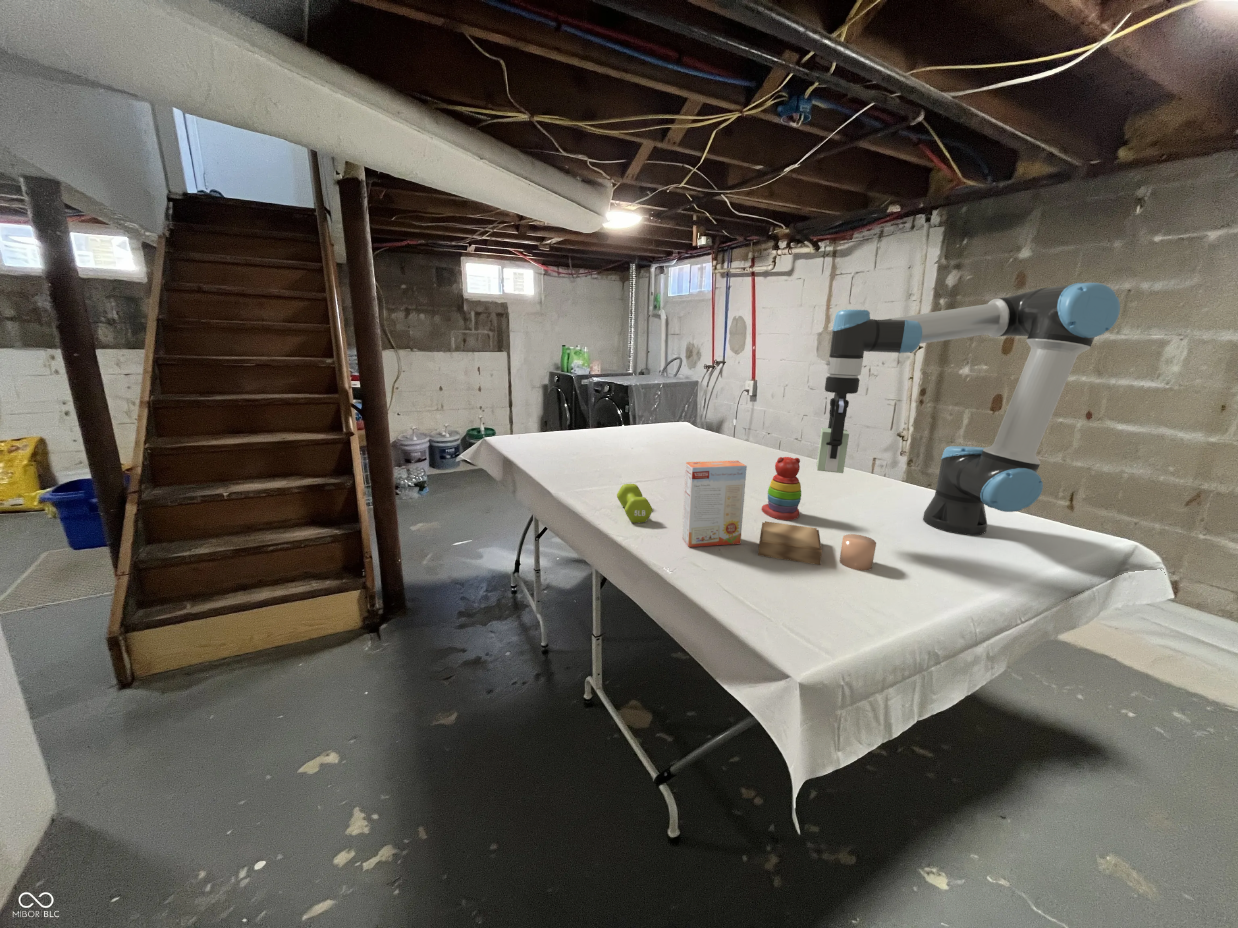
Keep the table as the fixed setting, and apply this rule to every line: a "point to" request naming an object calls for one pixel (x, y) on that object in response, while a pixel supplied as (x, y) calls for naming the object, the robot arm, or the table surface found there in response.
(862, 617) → the table surface
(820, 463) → the sage block
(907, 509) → the table surface
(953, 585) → the table surface
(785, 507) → the stacking bear
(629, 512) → the dumbbell
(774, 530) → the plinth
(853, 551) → the peach rounded cylinder
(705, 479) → the cracker box
